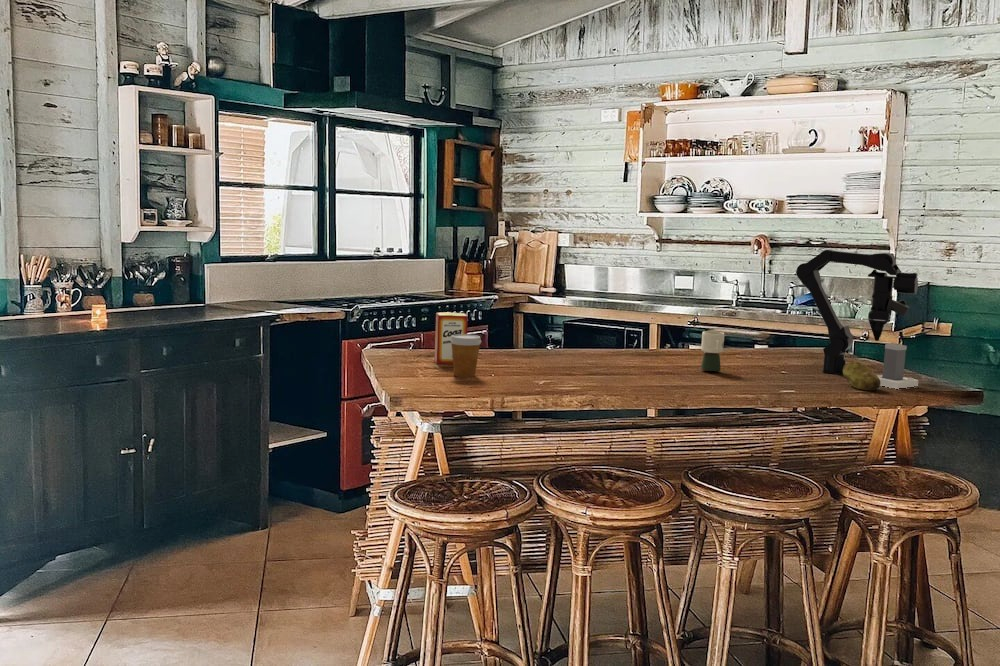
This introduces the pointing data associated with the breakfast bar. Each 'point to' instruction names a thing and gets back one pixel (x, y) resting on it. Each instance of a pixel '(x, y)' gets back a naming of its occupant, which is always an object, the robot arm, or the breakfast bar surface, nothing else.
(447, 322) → the baking soda box
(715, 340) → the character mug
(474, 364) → the disposable coffee cup
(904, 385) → the socket
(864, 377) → the potato
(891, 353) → the grey tall block
